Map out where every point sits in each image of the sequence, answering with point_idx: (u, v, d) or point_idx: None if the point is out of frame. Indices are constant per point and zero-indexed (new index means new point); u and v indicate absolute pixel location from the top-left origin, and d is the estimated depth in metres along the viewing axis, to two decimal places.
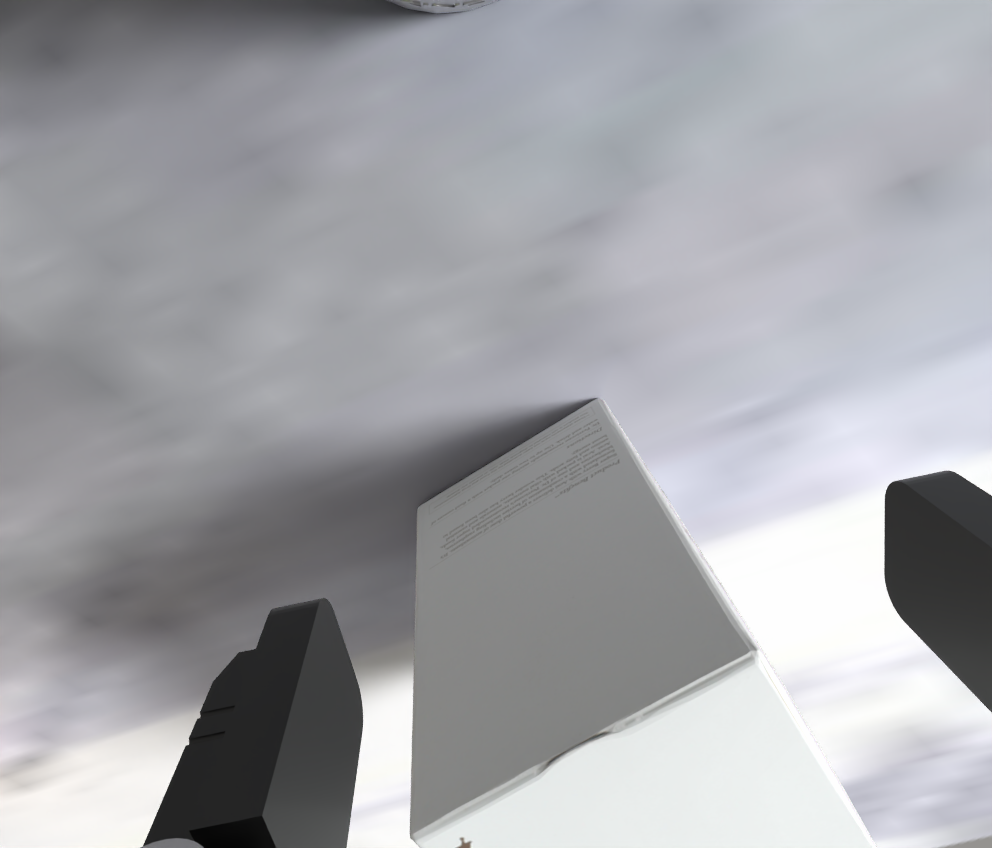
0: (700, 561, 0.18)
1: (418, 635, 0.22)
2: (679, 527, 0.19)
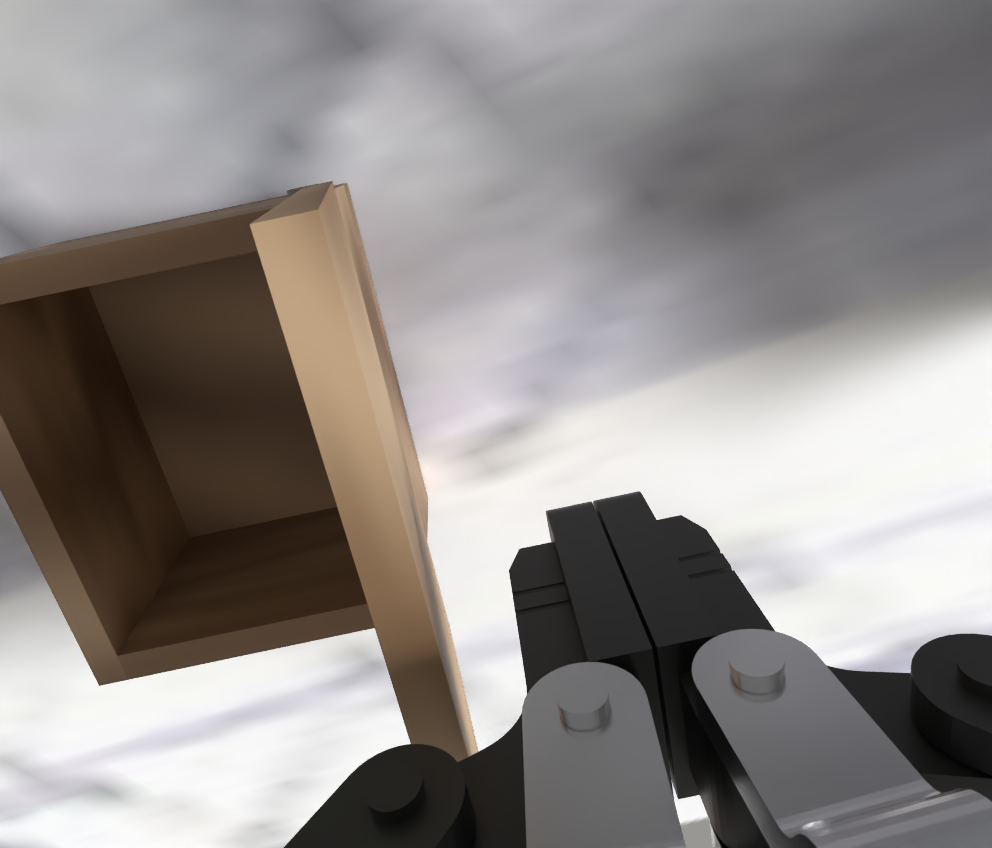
0: None
1: None
2: None
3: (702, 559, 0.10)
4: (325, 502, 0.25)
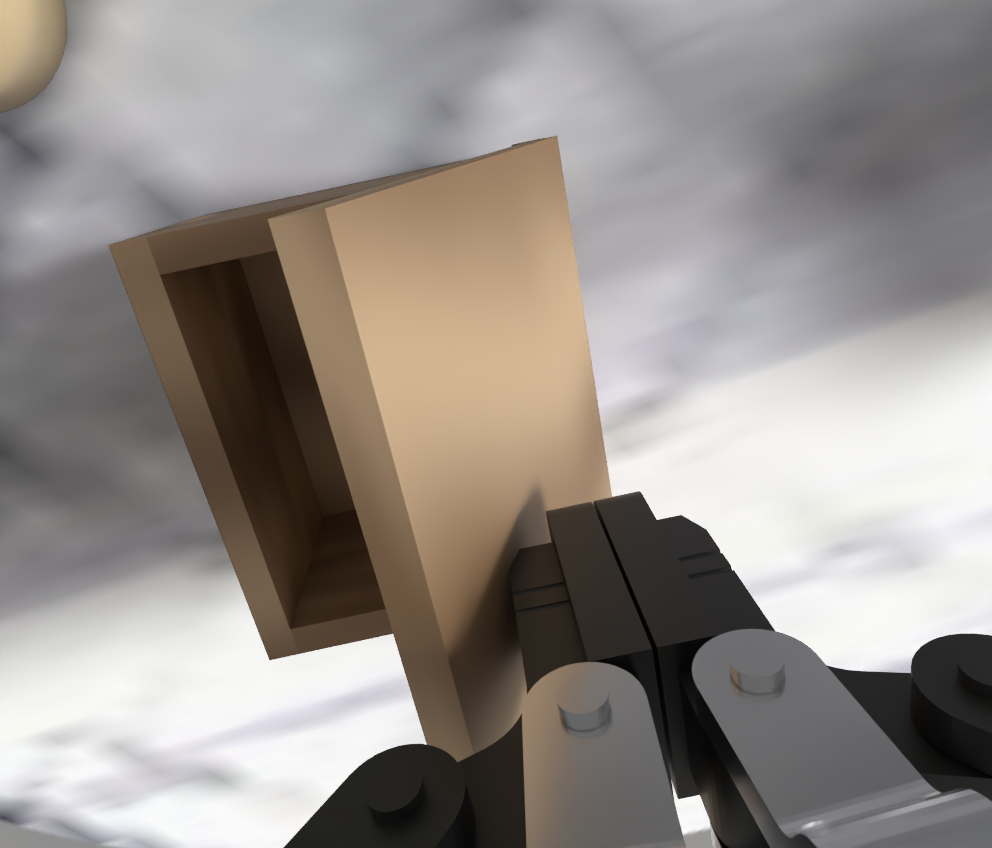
0: None
1: None
2: None
3: (702, 559, 0.10)
4: None
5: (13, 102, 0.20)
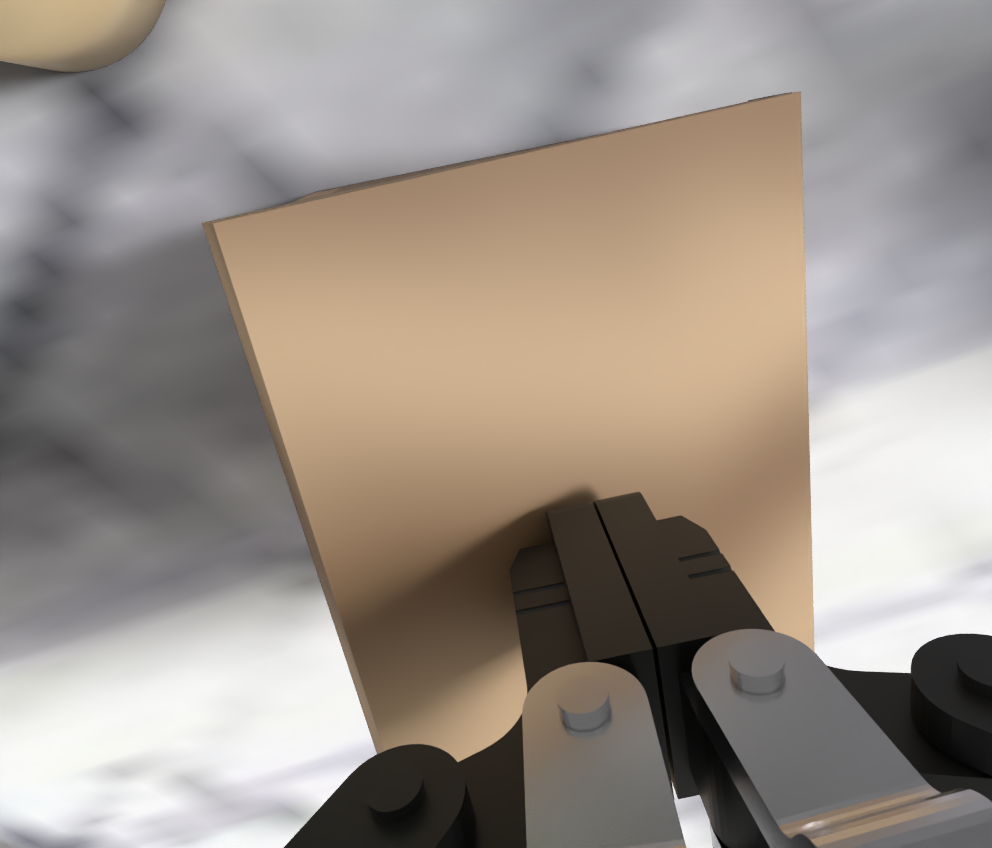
0: None
1: None
2: None
3: (702, 559, 0.09)
4: None
5: (107, 58, 0.17)
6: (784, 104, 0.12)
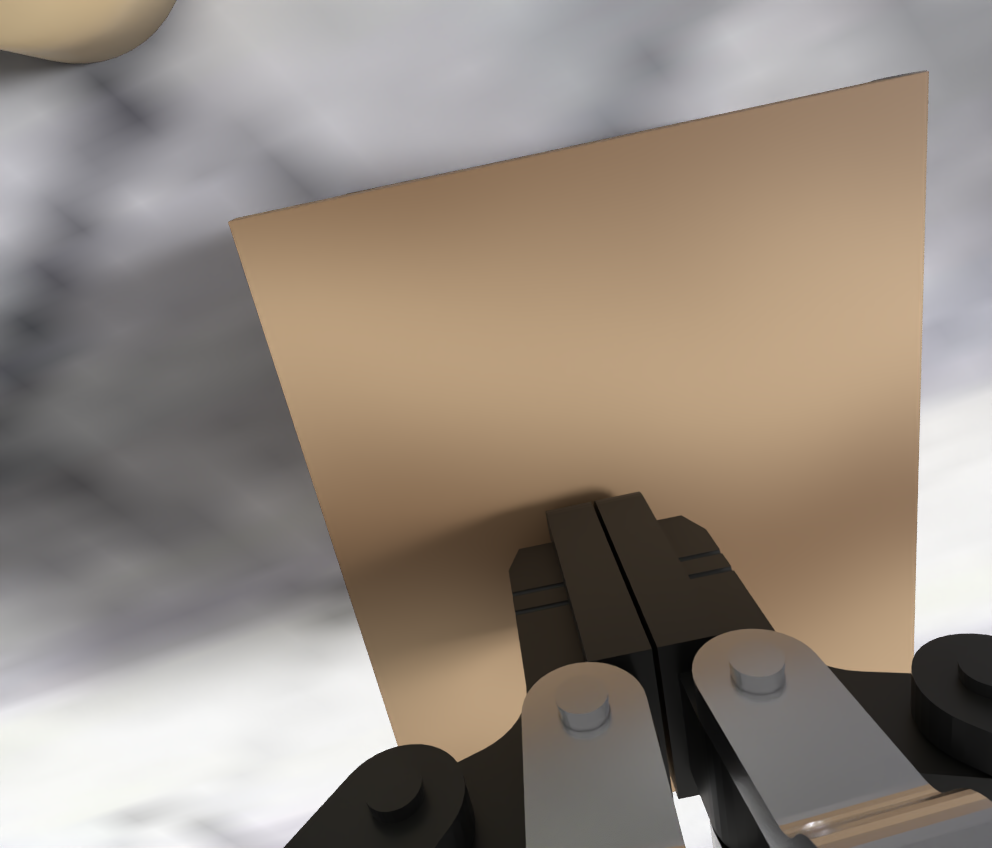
0: None
1: None
2: None
3: (702, 559, 0.10)
4: None
5: (119, 47, 0.15)
6: (902, 88, 0.10)
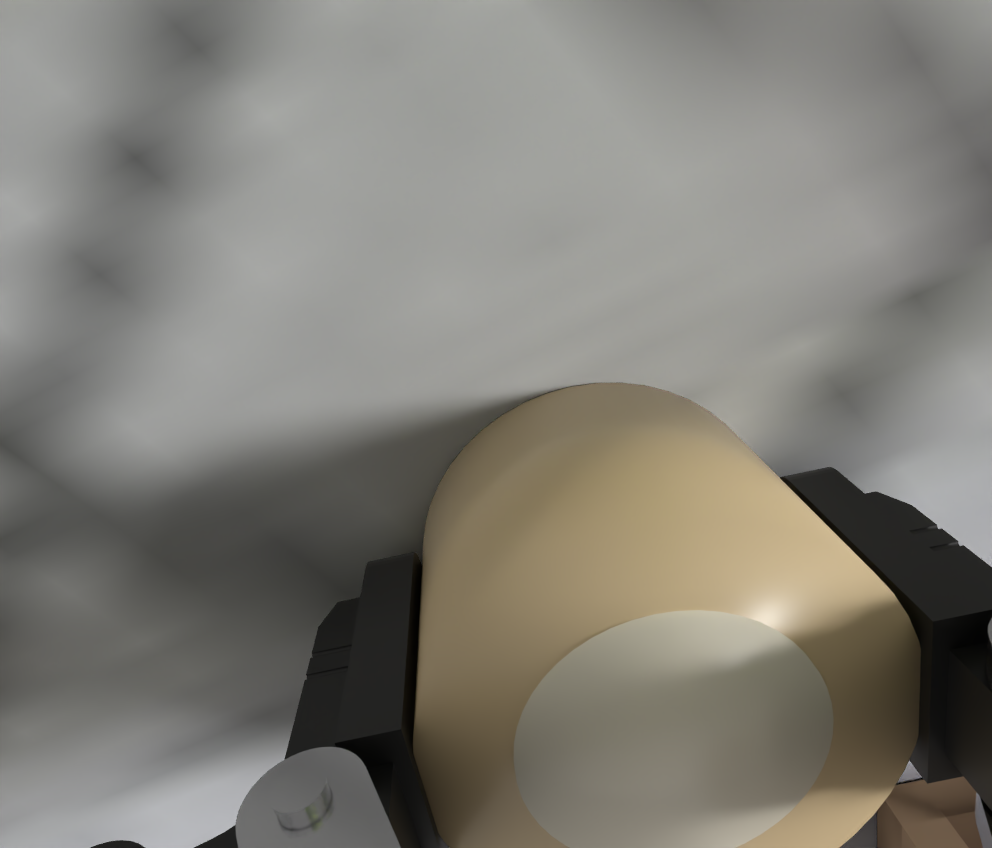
0: None
1: None
2: None
3: (921, 535, 0.09)
4: None
5: None
6: None
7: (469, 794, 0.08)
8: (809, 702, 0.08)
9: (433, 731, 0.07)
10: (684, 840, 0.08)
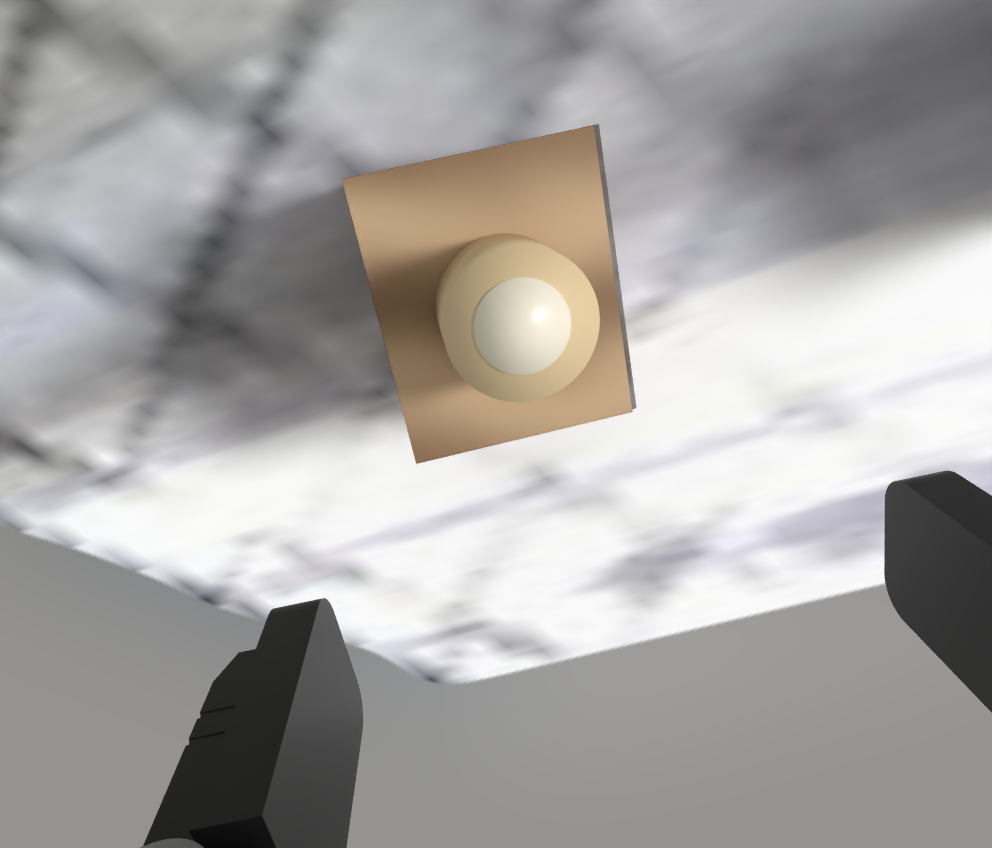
0: None
1: None
2: None
3: None
4: None
5: None
6: (584, 131, 0.27)
7: (460, 344, 0.25)
8: (562, 309, 0.25)
9: (449, 319, 0.25)
10: (528, 364, 0.25)
